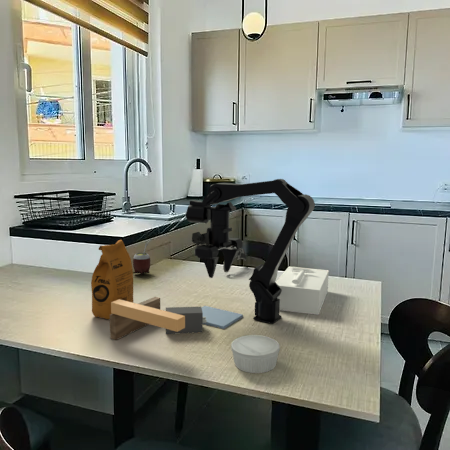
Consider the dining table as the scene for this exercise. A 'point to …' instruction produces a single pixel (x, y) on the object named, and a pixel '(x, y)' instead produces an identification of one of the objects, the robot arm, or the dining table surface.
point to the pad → (219, 317)
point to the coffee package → (111, 279)
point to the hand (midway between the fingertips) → (219, 274)
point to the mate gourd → (141, 262)
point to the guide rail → (129, 321)
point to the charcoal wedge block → (189, 319)
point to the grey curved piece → (240, 255)
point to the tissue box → (303, 289)
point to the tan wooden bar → (148, 315)
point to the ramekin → (255, 353)
